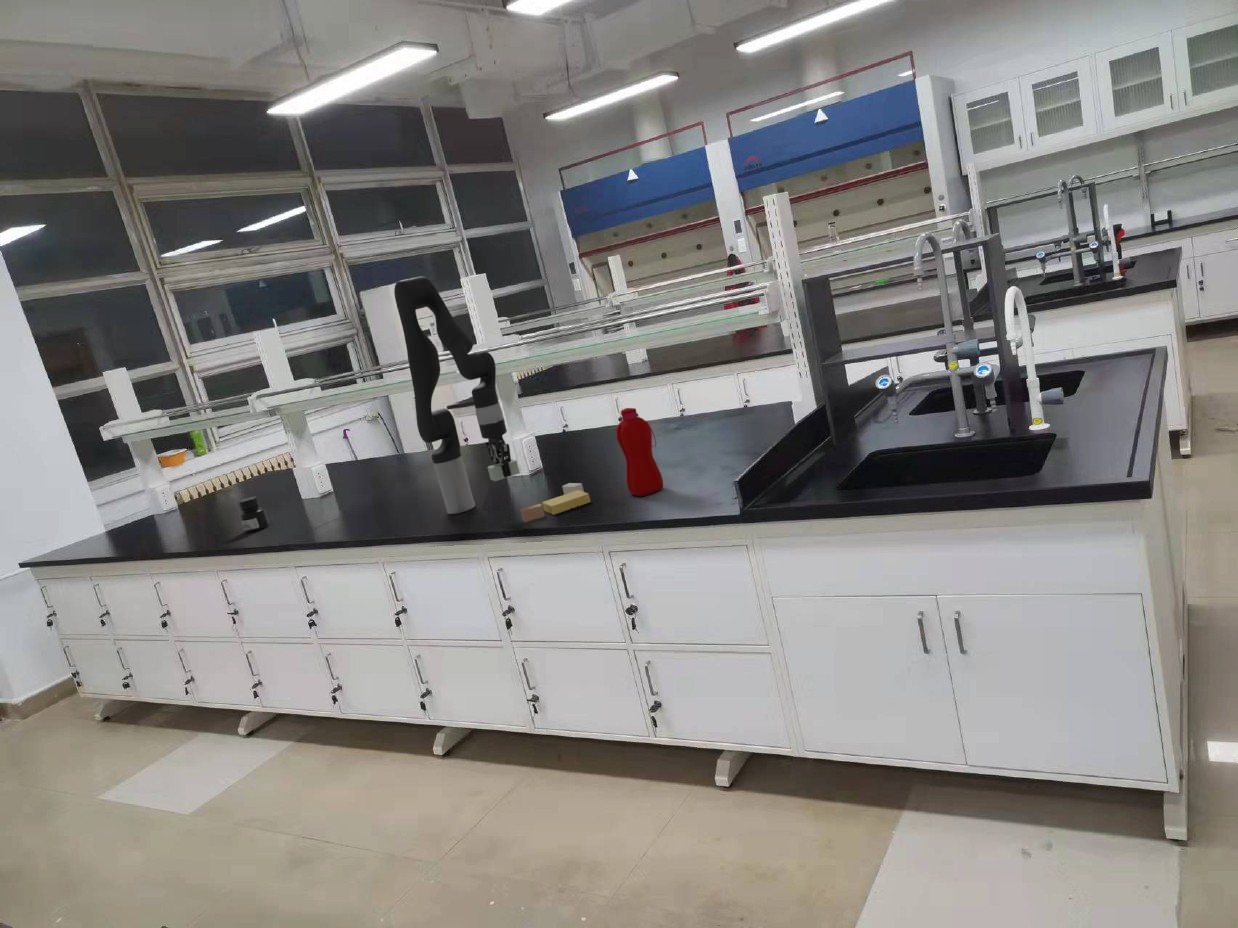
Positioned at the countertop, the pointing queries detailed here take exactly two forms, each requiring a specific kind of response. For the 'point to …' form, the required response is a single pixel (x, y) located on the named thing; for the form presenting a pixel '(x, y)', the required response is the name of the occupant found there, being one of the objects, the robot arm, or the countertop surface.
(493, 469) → the sage brick
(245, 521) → the ink bottle
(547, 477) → the countertop surface
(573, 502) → the mustard base brick
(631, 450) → the water bottle
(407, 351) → the robot arm
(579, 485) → the cream brick
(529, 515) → the rust brick
